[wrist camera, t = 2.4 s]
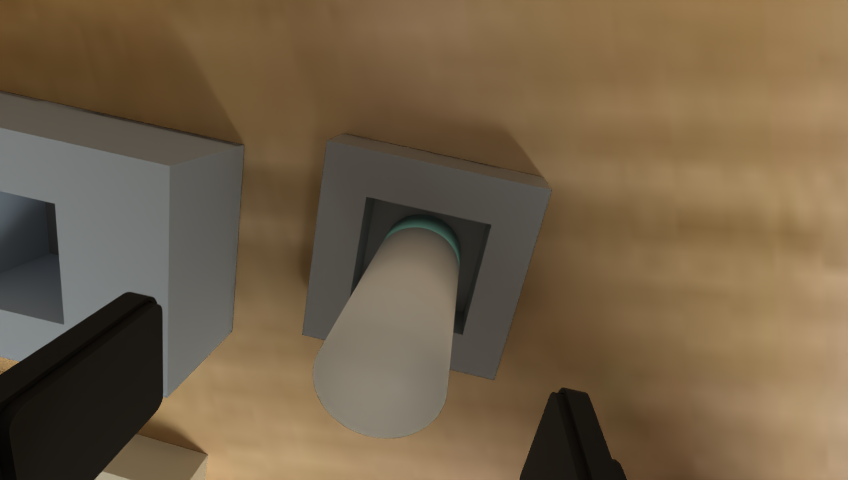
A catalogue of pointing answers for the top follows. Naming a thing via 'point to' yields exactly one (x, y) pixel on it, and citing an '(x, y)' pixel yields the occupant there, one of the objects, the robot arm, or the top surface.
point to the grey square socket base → (437, 196)
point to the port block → (114, 227)
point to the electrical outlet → (155, 462)
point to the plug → (394, 334)
